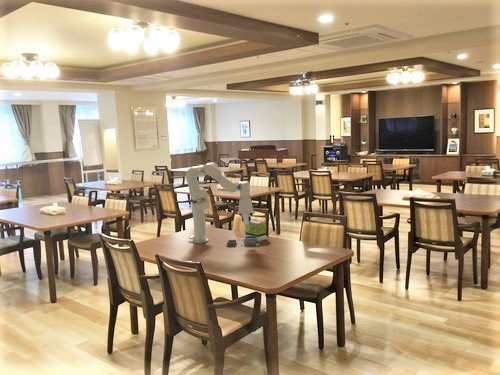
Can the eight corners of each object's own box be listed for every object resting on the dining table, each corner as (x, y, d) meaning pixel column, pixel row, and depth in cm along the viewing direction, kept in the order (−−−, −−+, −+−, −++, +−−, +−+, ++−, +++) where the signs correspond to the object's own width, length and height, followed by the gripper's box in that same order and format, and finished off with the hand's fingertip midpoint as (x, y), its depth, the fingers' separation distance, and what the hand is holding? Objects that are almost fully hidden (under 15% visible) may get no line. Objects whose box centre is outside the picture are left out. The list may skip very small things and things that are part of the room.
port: (240, 246, 331) (240, 239, 331) (242, 242, 343) (241, 235, 342) (259, 246, 330) (258, 239, 329) (260, 242, 342) (259, 235, 341)
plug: (243, 224, 332) (243, 213, 331) (244, 223, 336) (243, 212, 335) (248, 224, 332) (248, 212, 331) (249, 223, 336) (248, 211, 335)
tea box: (244, 238, 356) (244, 220, 355) (254, 236, 363) (253, 218, 361) (257, 241, 345) (257, 223, 343) (266, 239, 352) (266, 221, 350)
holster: (225, 247, 331) (225, 242, 330) (227, 244, 340) (227, 239, 339) (236, 247, 330) (236, 242, 330) (237, 244, 339) (237, 239, 338)
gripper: (233, 199, 329) (234, 223, 331) (255, 198, 327) (257, 222, 329) (234, 197, 336) (236, 221, 338) (256, 197, 334) (257, 220, 337)
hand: (246, 221), depth 334 cm, fingers closed on plug, 4 cm apart
